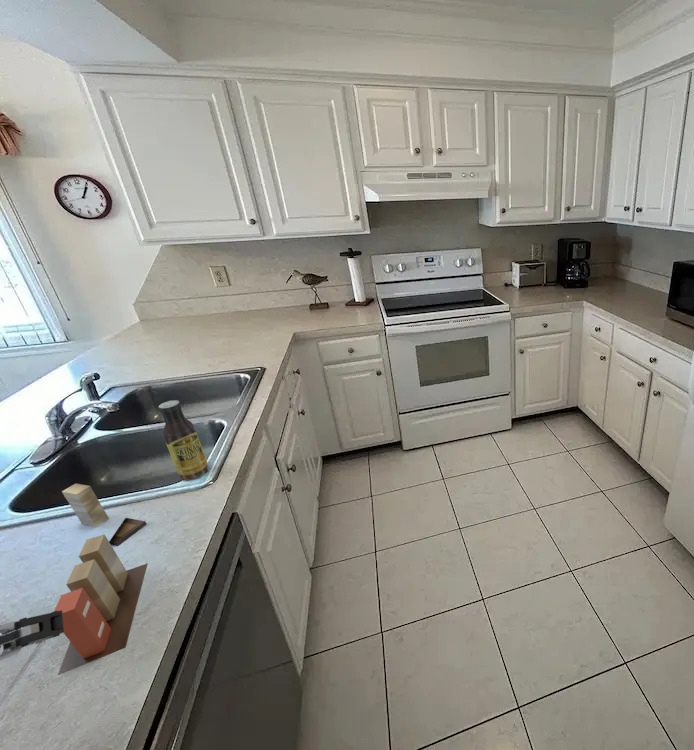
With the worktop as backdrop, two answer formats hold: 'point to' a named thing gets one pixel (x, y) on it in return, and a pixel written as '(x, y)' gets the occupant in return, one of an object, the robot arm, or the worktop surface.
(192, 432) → the sauce bottle
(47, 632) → the robot arm
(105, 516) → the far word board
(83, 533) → the worktop surface
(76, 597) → the orange brick
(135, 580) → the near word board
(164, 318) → the worktop surface
